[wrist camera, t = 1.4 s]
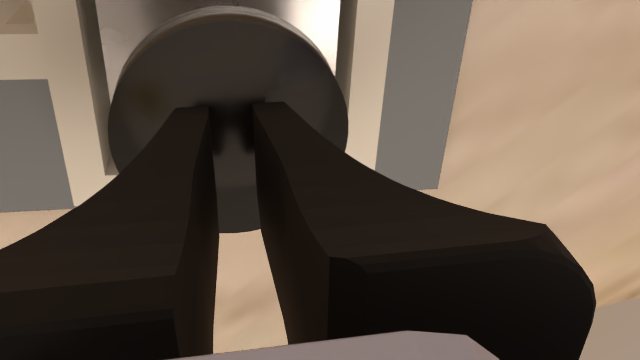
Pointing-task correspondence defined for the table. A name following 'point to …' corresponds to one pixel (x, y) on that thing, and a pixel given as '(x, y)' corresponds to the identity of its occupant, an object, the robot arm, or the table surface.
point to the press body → (93, 94)
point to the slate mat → (395, 126)
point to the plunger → (220, 79)
